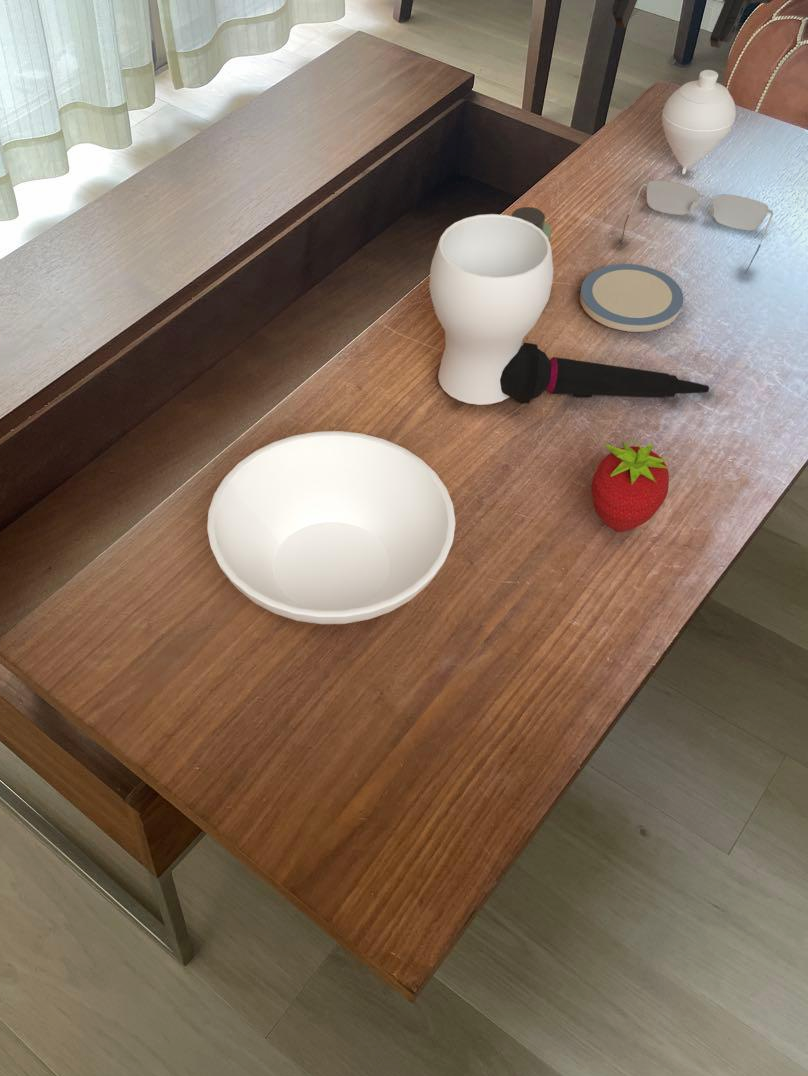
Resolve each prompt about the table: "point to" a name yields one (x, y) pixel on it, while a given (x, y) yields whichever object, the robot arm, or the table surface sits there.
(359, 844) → the table surface
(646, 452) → the strawberry
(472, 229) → the cup
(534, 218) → the pepper shaker
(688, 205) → the eyeglasses
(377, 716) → the table surface
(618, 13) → the robot arm
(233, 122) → the table surface
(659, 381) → the microphone
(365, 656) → the table surface
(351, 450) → the bowl
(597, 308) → the saucer
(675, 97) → the spinning top
